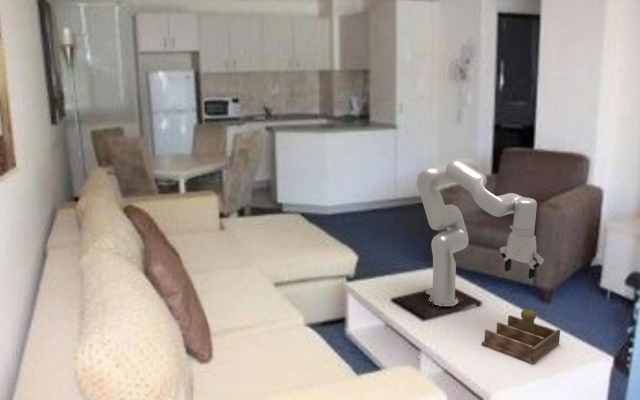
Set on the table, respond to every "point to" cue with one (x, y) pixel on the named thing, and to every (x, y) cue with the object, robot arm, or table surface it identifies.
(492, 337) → the slot rack
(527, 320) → the cork
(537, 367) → the table surface
